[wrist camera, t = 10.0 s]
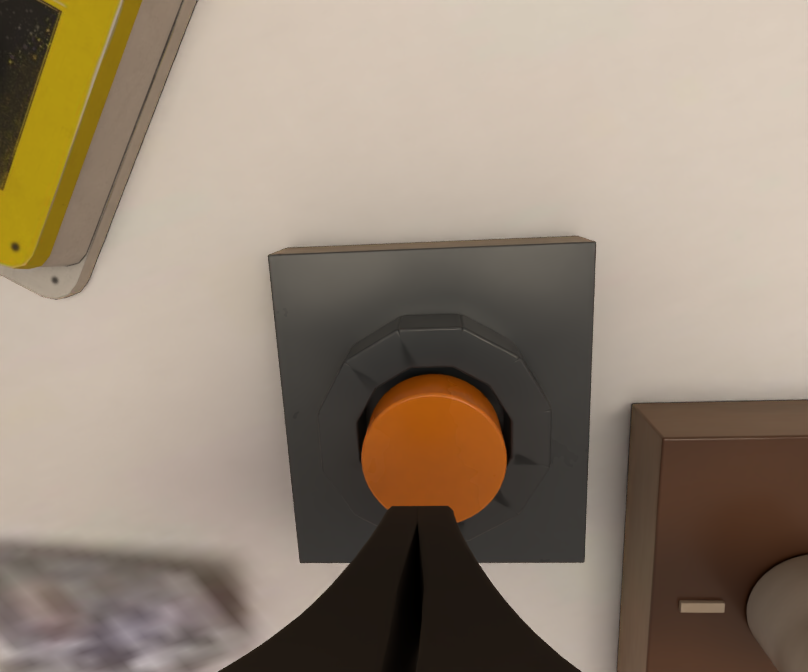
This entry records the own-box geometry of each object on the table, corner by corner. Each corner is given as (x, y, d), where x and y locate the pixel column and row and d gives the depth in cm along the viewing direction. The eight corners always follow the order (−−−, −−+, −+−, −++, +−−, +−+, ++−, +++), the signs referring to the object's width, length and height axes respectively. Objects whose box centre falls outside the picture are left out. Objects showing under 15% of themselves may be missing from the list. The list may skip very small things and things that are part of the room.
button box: (570, 526, 22) (599, 599, 18) (312, 528, 23) (286, 598, 19) (579, 235, 19) (614, 247, 15) (285, 247, 20) (248, 261, 16)
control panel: (873, 681, 23) (940, 757, 20) (616, 678, 23) (642, 751, 20) (927, 396, 20) (1017, 434, 17) (631, 402, 20) (664, 440, 17)
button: (500, 494, 18) (507, 526, 16) (372, 495, 18) (365, 528, 16) (500, 371, 17) (507, 391, 15) (364, 374, 17) (356, 395, 15)
